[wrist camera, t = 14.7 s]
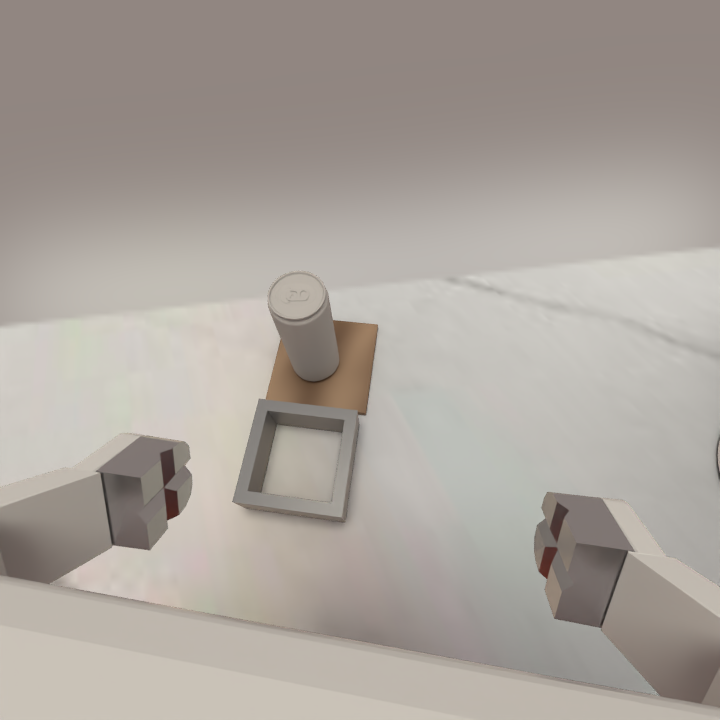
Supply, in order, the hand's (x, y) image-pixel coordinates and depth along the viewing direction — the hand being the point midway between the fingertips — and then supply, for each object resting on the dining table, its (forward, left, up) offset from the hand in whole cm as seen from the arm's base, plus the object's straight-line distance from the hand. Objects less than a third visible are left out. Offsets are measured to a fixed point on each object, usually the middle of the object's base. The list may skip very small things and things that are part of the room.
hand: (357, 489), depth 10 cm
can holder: (+7, -6, -29) cm, 31 cm away
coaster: (+7, -17, -29) cm, 35 cm away
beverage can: (+8, -16, -29) cm, 34 cm away
